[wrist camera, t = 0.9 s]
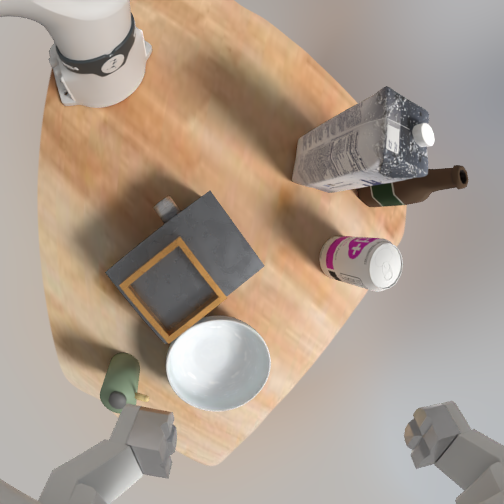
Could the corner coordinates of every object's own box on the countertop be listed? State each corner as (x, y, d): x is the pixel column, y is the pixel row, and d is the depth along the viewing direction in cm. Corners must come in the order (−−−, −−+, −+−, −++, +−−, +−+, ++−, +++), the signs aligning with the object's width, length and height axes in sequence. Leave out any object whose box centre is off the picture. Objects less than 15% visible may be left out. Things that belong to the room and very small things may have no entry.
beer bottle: (366, 215, 58) (461, 212, 35) (349, 181, 56) (443, 163, 33) (389, 196, 59) (480, 187, 36) (372, 164, 58) (463, 143, 35)
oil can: (114, 381, 46) (104, 418, 35) (107, 354, 46) (94, 387, 34) (153, 377, 49) (153, 415, 37) (147, 350, 48) (144, 383, 36)
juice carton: (285, 186, 53) (387, 155, 27) (294, 132, 52) (389, 73, 26) (327, 197, 55) (440, 182, 29) (335, 146, 55) (439, 106, 29)
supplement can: (311, 247, 55) (359, 253, 41) (345, 229, 57) (397, 230, 42) (325, 285, 56) (374, 303, 42) (358, 266, 58) (409, 277, 44)
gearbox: (104, 249, 45) (88, 256, 34) (191, 182, 48) (199, 169, 37) (164, 324, 48) (165, 350, 38) (247, 259, 52) (269, 268, 41)
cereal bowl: (272, 325, 54) (287, 338, 47) (238, 400, 53) (247, 420, 47) (184, 293, 49) (187, 303, 42) (153, 376, 49) (152, 396, 42)
